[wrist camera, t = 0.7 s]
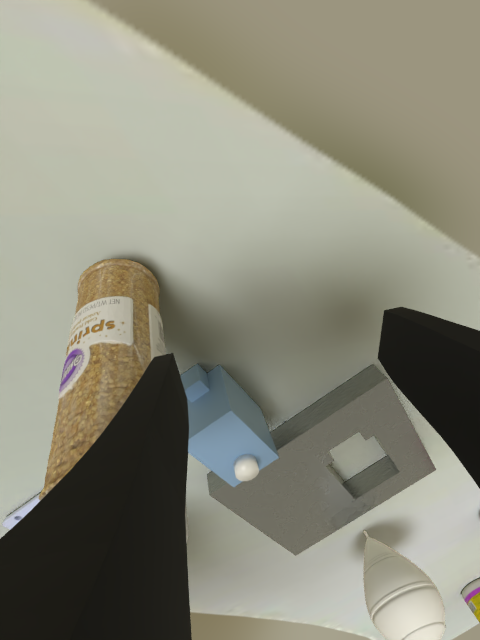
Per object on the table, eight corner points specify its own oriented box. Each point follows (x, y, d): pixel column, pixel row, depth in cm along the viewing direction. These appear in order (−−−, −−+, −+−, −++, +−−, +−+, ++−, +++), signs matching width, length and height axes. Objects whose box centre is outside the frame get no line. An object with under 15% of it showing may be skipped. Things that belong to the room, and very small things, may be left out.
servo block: (223, 433, 25) (235, 498, 20) (167, 384, 22) (166, 446, 17) (260, 408, 25) (283, 467, 20) (210, 354, 22) (221, 408, 17)
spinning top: (338, 521, 35) (409, 668, 25) (395, 504, 36) (487, 638, 26) (334, 555, 39) (395, 697, 28) (387, 539, 40) (465, 670, 29)
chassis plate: (289, 536, 34) (295, 555, 33) (207, 474, 27) (209, 494, 25) (422, 454, 33) (436, 469, 31) (372, 364, 25) (387, 378, 24)
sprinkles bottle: (88, 244, 15) (26, 570, 6) (171, 270, 18) (216, 533, 8) (70, 307, 18) (6, 612, 8) (146, 322, 20) (159, 574, 11)
